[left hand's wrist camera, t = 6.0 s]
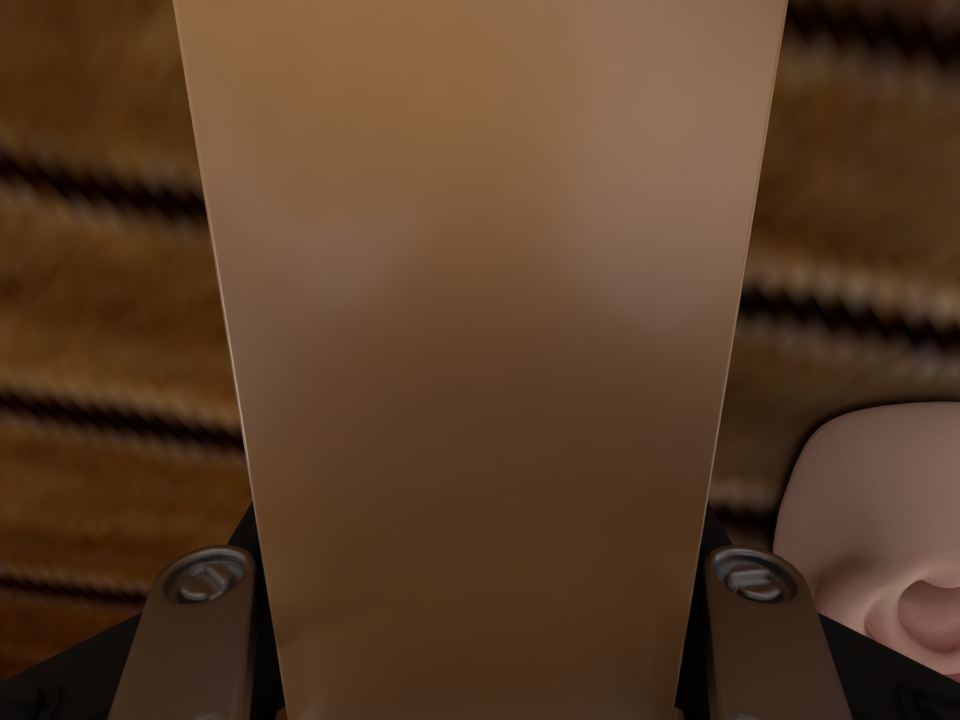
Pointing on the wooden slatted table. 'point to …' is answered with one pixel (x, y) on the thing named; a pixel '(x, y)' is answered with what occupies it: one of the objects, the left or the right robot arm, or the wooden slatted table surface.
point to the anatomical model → (882, 527)
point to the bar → (480, 332)
